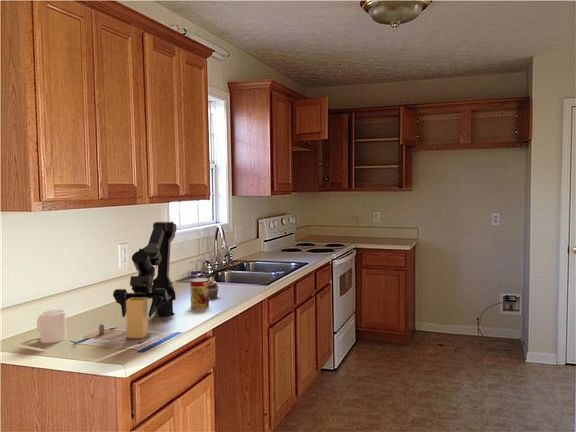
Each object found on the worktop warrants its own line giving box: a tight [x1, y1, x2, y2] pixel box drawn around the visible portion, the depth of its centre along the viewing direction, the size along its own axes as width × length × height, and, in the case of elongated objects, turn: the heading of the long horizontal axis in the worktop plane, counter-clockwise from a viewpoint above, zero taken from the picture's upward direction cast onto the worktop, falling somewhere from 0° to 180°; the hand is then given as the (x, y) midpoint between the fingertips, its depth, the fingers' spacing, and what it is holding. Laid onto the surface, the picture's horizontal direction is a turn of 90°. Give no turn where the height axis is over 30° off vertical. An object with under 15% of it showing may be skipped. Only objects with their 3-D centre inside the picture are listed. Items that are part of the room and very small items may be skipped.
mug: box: [36, 309, 67, 344], centre depth 178 cm, size 12×8×10 cm
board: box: [82, 323, 157, 345], centre depth 181 cm, size 23×11×4 cm, turn 74°
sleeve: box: [126, 297, 149, 338], centre depth 179 cm, size 6×6×13 cm
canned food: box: [189, 277, 210, 310], centre depth 225 cm, size 8×8×12 cm
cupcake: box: [202, 275, 219, 300], centre depth 244 cm, size 10×10×10 cm
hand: (136, 316), depth 177 cm, fingers open, 9 cm apart
